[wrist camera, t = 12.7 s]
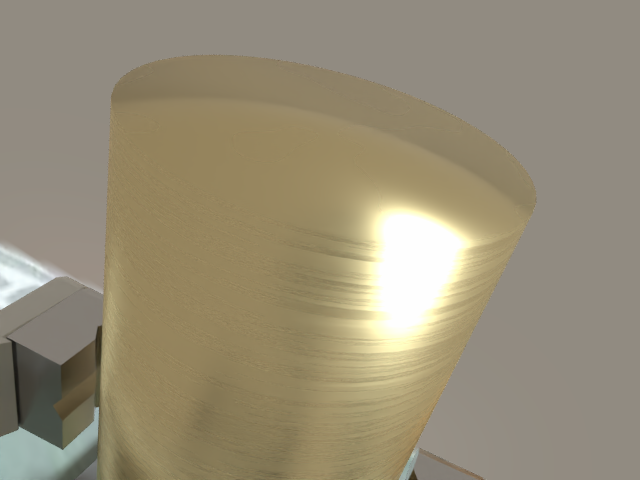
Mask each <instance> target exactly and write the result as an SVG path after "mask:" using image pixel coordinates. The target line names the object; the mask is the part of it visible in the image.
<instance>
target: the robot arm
mask: <svg viewBox="0 0 640 480" xmlns="http://www.w3.org/2000/svg"><path fill="white" fill-rule="evenodd" d="M103 296H104V295H103V294H101V293H99V292H97V291H95V290H93V289H91V288H88V287H86V286H84V285H82V284H81V283H79V282H77V281H75V280H73V279H71V278H69V277H67V276H66V277H57V278H55V279H53V280H51V281H50V282H48V283H46V284H44V285H43V286H41V287H39V288H38V289H36V290H34V291H32V292H31V293H29V294H27V295H26V296H24V297H22V298H21V299H19V300H17V301H15V302H14V303H12V304H10V305H9V306H7V307H5V308H3V309H2V310H0V437H1V436H3V435H6V434H9V433H11V432H14V431H16V430H18V429H19V427H21V428H23V429H25V430H27V431H28V432H30V433H32V434H34V435H36V436H38V437H40V438H42V439H43V440H45V441H47V442H49V443H51V444H53V445H55V446H57V447H59V448H60V449H62V450H63V449H64V448H65V447H66V446H67V445H68V444H70V443H71V442H72V441H73V440H74V439H75V438H76V437H77V436H78V435H79V434H80V433H81V432H82V431H83V430H85V429H86V428H87V427H88V426H89V425H90V424H91V423H92V422H93V421H94V416H95V410H96V407H99V400H100V374H101V348H102V322H103ZM405 480H487V479H483V478H482V477H481V476H478V475H476V474H474V473H472V472H470V471H468V470H466V469H464V468H462V467H459V466H457V465H455V464H453V463H451V462H449V461H447V460H444V459H442V458H440V457H438V456H436V455H434V454H432V453H430V452H428V451H425V450H423V449H421V448H418V450H417V452H416V454H415V456H414V458H413V460H412V462H411V464H410V467H409V470H408V473H407V476H406V479H405Z"/></svg>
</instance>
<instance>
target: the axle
mask: <svg viewBox="0 0 640 480" xmlns="http://www.w3.org/2000/svg"><path fill="white" fill-rule="evenodd" d="M110 114H111V115H110V140H109V167H108V192H107V193H108V194H107V218H106V219H107V220H106V244H105V270H104V296H103V322H102V348H101V374H100V400H99V427H98V453H97V479H96V480H399V478H400V476H401V474H402V472H403V470H404V468H405V466H406V464H407V462H408V460H409V458H410V456H411V454H412V452H413V450H414V448H415V446H416V444H417V442H418V440H419V438H420V436H421V433H422V432H423V430H424V428H425V426H426V424H427V422H428V420H429V418H430V416H431V414H432V412H433V410H434V408H435V406H436V404H437V402H438V400H439V398H440V396H441V394H442V392H443V390H444V388H445V386H446V384H447V382H448V380H449V378H450V376H451V374H452V372H453V370H454V368H455V366H456V364H457V362H458V360H459V358H460V356H461V354H462V352H463V350H464V348H465V346H466V344H467V342H468V340H469V338H470V336H471V334H472V332H473V330H474V328H475V326H476V324H477V322H478V320H479V318H480V316H481V314H482V312H483V310H484V308H485V307H486V305H487V303H488V301H489V299H490V296H491V294H492V292H493V291H494V289H495V287H496V285H497V282H498V281H499V278H500V276H501V275H502V273H503V271H504V269H505V267H506V265H507V263H508V261H509V259H510V257H511V255H512V253H513V251H514V249H515V247H516V245H517V243H518V241H519V239H520V237H521V235H522V233H523V231H524V229H525V227H526V225H527V223H528V221H529V219H530V217H531V215H532V213H533V210H534V207H535V205H536V191H535V188H534V185H533V182H532V180H531V178H530V176H529V175H528V173H527V172H526V170H525V169H524V168H523V166H522V165H521V164H520V163H519V162H518V161H517V160H516V158H515V157H513V156H512V155H511V154H510V153H509V152H508V151H507V150H506V149H505V148H504V147H502V146H501V145H500V144H498V143H497V142H496V141H495V140H493V139H492V138H491V137H489V136H487V135H486V134H485V133H483V132H482V131H480V130H479V129H477V128H475V127H473V126H472V125H470V124H468V123H467V122H465V121H463V120H462V119H460V118H458V117H456V116H454V115H452V114H450V113H448V112H446V111H444V110H442V109H440V108H438V107H436V106H433V105H431V104H429V103H427V102H425V101H422V100H420V99H418V98H415V97H413V96H410V95H408V94H405V93H403V92H400V91H397V90H394V89H392V88H389V87H386V86H383V85H380V84H377V83H374V82H371V81H368V80H365V79H361V78H357V77H354V76H351V75H347V74H343V73H340V72H335V71H332V70H327V69H323V68H319V67H314V66H310V65H304V64H298V63H293V62H288V61H281V60H275V59H267V58H258V57H247V56H233V55H196V56H195V55H194V56H183V57H174V58H169V59H164V60H158V61H155V62H152V63H148V64H145V65H142V66H140V67H138V68H136V69H133V70H132V71H130V72H129V73H127V74H126V75H124V76H123V77H122V78H121V79H120V80H119V82H118V83H117V84H116V85H115V87H114V90H113V93H112V95H111V113H110Z"/></svg>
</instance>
